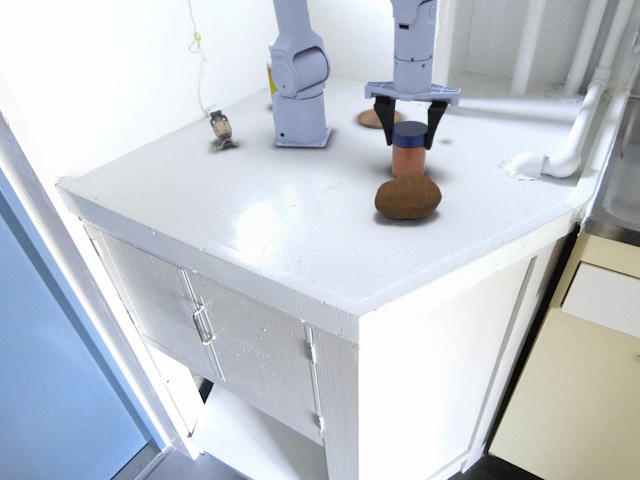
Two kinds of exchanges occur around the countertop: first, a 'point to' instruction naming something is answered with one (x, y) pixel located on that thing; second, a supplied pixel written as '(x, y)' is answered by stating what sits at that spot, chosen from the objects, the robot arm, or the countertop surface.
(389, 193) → the potato
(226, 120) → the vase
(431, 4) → the robot arm
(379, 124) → the coaster
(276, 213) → the countertop surface
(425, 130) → the lid
